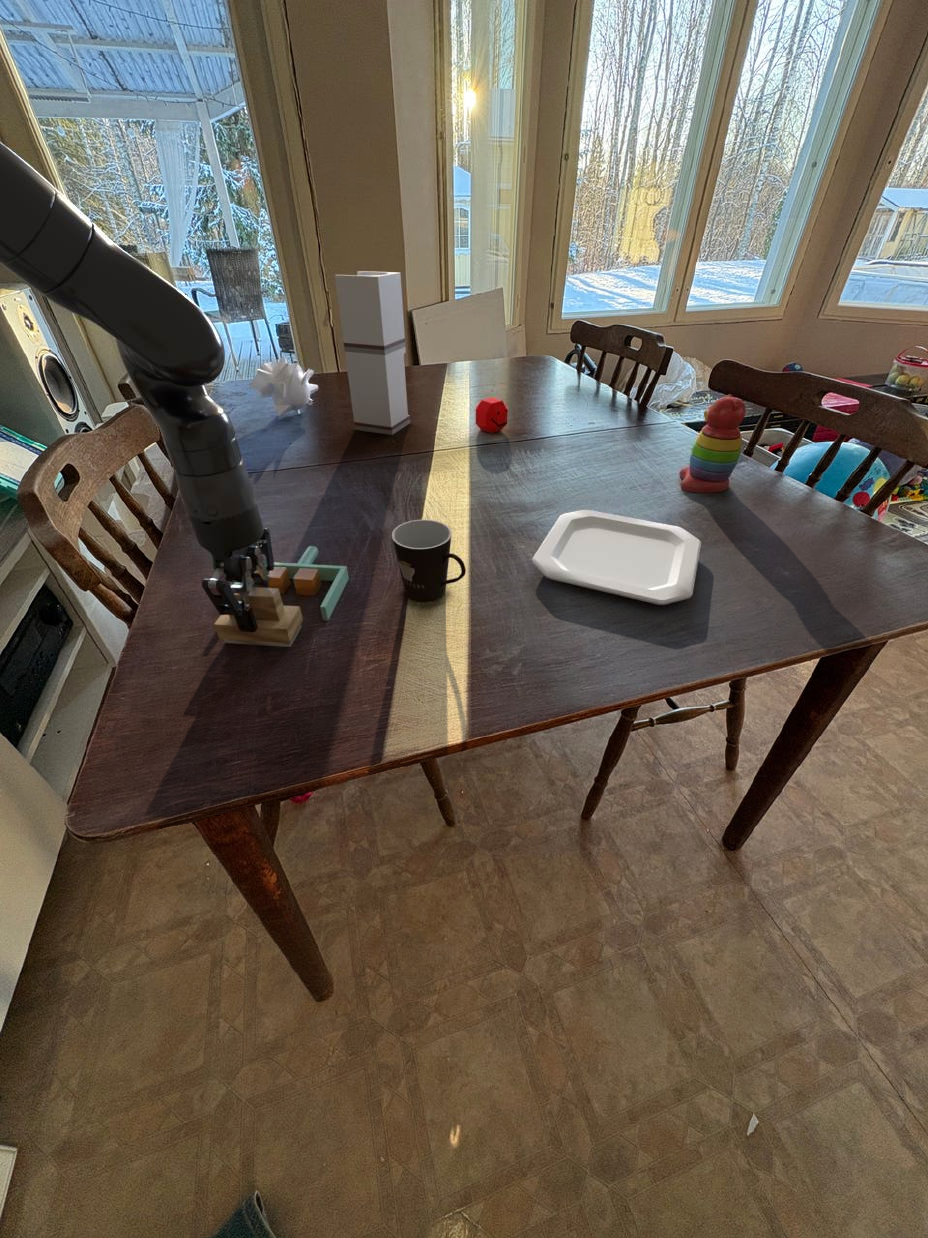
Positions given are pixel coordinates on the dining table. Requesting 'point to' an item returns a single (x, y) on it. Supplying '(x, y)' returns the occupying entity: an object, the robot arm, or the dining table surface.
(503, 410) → the ball
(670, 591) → the plate
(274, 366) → the white spiky ornament
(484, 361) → the dining table surface
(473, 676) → the dining table surface
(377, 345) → the white banded pillar
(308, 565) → the green u-shaped pusher
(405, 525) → the coffee mug
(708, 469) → the stacking bear
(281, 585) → the crumb
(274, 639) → the stepped wooden block
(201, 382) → the robot arm
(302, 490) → the dining table surface
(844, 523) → the dining table surface
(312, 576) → the crumb
